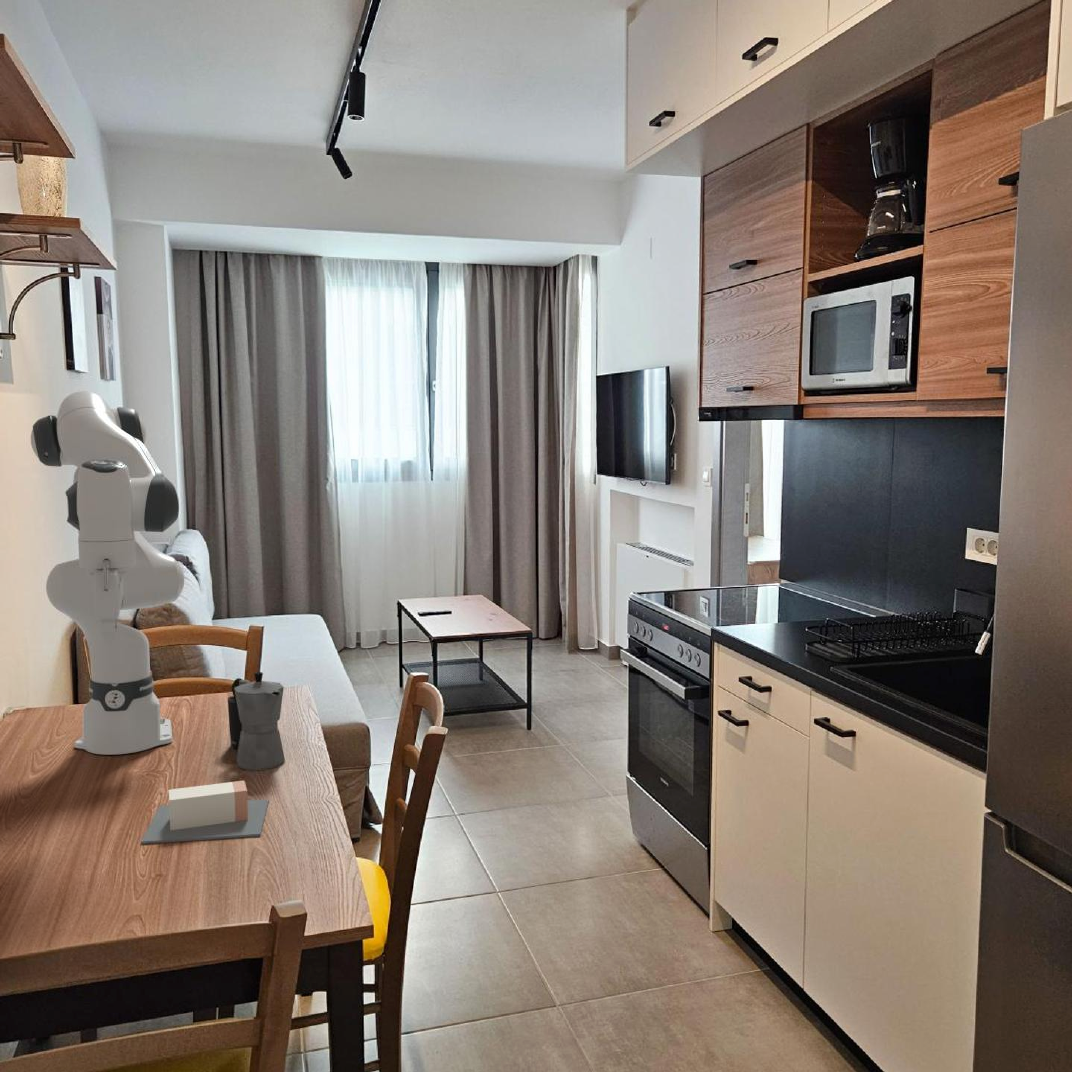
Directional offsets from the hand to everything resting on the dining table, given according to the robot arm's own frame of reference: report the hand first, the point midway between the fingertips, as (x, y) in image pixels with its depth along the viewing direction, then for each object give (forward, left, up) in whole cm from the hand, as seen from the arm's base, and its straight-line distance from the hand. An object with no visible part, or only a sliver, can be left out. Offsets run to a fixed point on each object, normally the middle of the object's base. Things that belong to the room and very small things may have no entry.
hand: (110, 636), depth 168 cm
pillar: (+14, +11, -26) cm, 32 cm away
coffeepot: (-17, +22, -29) cm, 40 cm away
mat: (+12, +17, -29) cm, 36 cm away
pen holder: (-28, +20, -29) cm, 45 cm away
